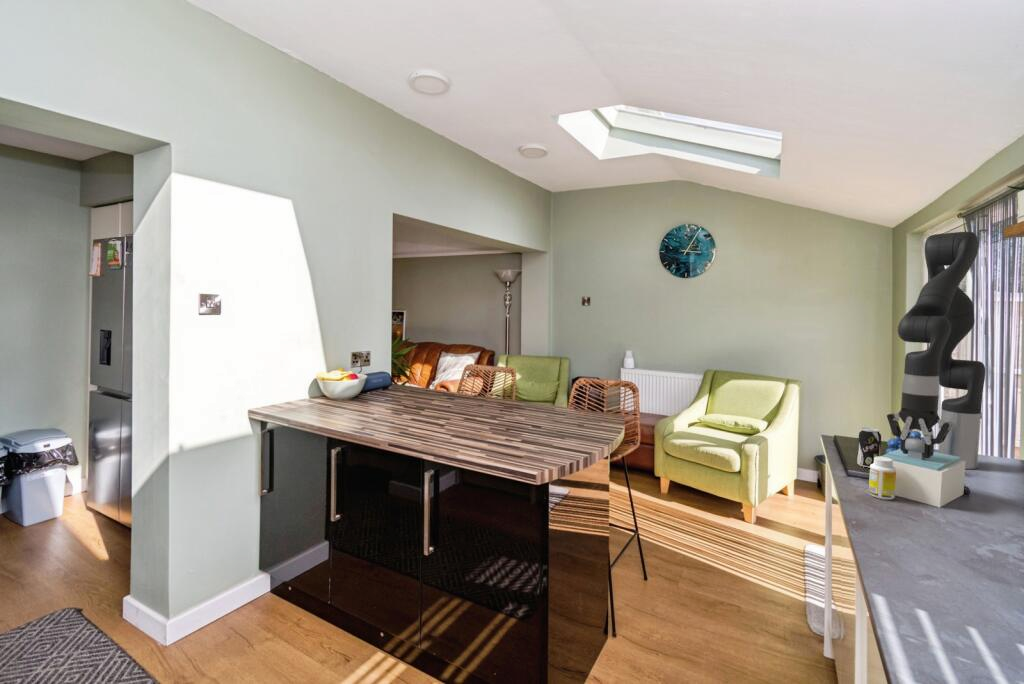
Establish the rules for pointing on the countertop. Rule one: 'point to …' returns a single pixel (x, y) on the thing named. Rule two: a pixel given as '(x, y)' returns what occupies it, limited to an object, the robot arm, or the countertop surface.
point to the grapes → (896, 443)
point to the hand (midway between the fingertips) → (916, 455)
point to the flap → (917, 453)
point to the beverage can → (868, 446)
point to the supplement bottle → (882, 478)
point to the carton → (928, 480)
